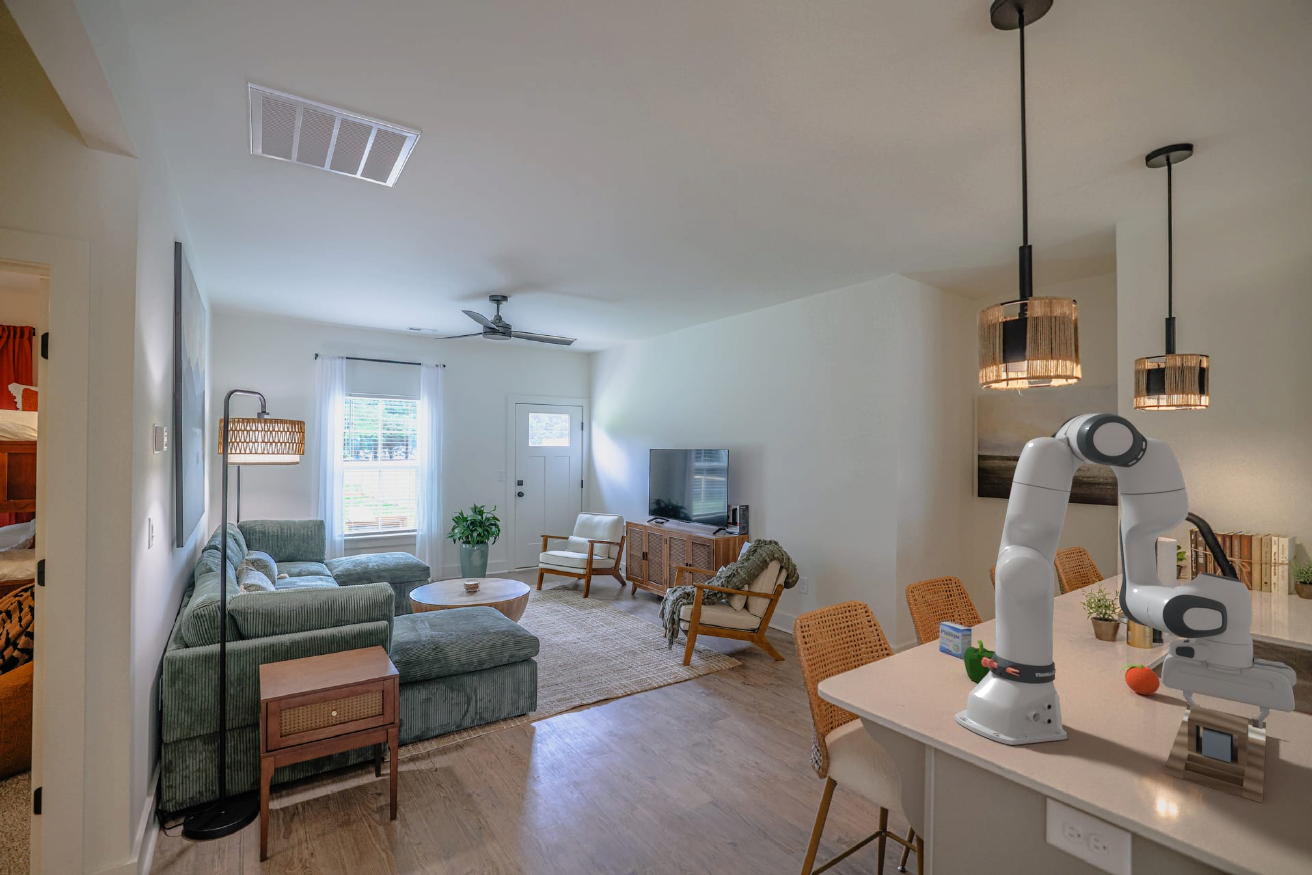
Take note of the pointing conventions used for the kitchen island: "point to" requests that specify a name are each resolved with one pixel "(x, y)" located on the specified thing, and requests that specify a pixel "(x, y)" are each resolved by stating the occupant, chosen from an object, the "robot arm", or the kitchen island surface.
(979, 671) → the bell pepper
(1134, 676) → the tomato
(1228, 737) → the sled block
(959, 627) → the medicine box
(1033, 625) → the robot arm
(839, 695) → the kitchen island surface
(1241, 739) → the tunnel deck
